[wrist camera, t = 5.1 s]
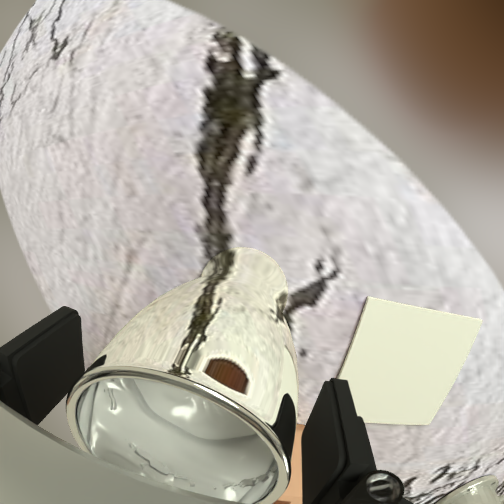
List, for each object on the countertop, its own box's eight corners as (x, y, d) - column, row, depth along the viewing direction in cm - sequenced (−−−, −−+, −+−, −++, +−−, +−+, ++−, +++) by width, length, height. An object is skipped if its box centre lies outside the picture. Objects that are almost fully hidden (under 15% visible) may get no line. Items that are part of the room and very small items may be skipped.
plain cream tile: (480, 318, 19) (482, 320, 19) (427, 422, 22) (428, 424, 22) (367, 296, 20) (368, 298, 20) (321, 414, 23) (321, 417, 22)
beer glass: (207, 340, 22) (121, 506, 8) (184, 249, 21) (24, 356, 6) (301, 328, 21) (310, 520, 7) (284, 231, 20) (276, 346, 5)
